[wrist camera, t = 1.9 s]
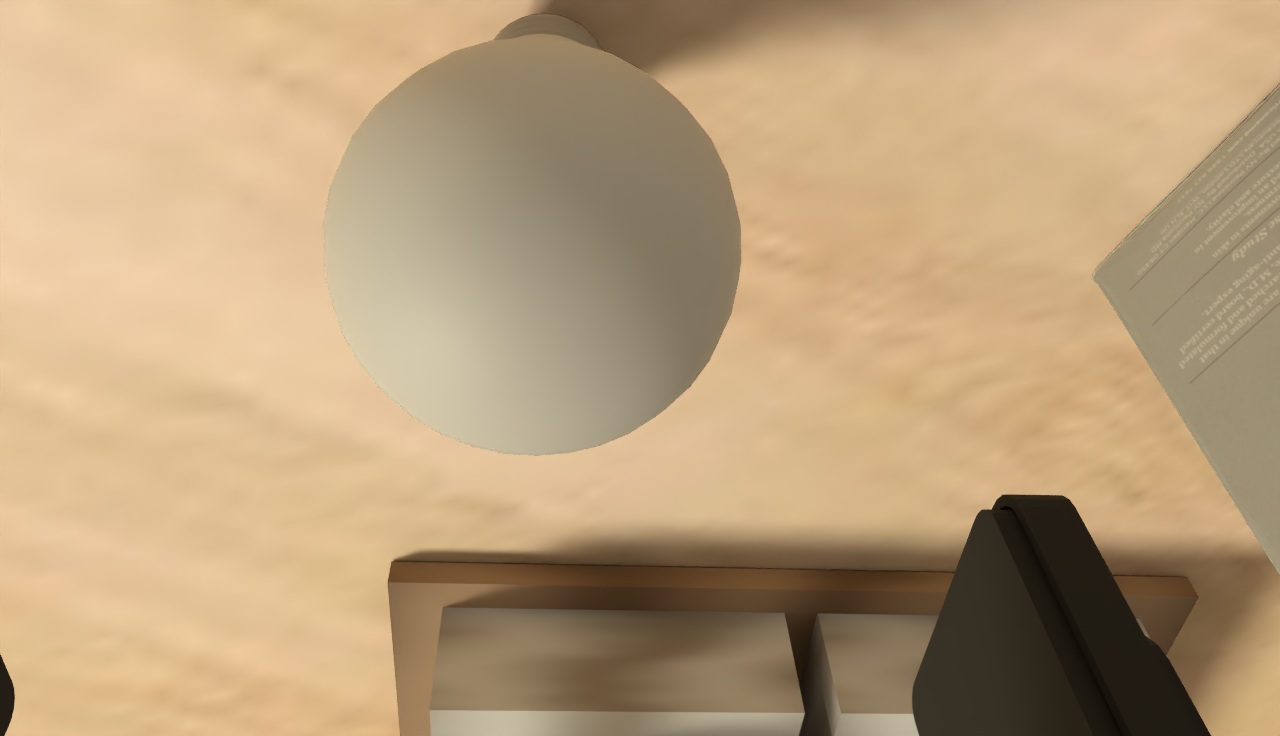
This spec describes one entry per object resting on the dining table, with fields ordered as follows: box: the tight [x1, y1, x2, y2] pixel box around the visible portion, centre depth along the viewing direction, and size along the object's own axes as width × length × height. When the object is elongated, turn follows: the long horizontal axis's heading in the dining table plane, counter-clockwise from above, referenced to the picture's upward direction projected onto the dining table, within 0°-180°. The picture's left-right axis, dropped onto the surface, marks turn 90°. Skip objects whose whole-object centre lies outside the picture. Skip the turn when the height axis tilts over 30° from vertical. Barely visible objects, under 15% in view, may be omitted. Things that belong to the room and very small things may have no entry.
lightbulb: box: [323, 14, 741, 456], centre depth 18 cm, size 6×6×11 cm
